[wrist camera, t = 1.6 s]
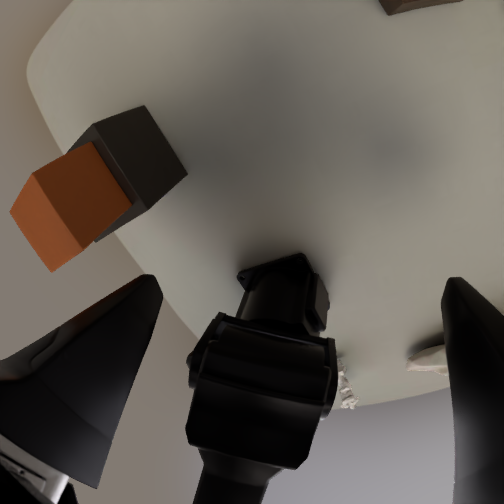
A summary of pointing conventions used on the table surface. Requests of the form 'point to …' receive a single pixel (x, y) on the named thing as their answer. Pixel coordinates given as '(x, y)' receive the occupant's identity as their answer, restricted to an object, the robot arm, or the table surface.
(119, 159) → the block
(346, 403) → the figurine
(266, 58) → the table surface
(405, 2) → the base block
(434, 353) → the stone tool
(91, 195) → the toy cube
